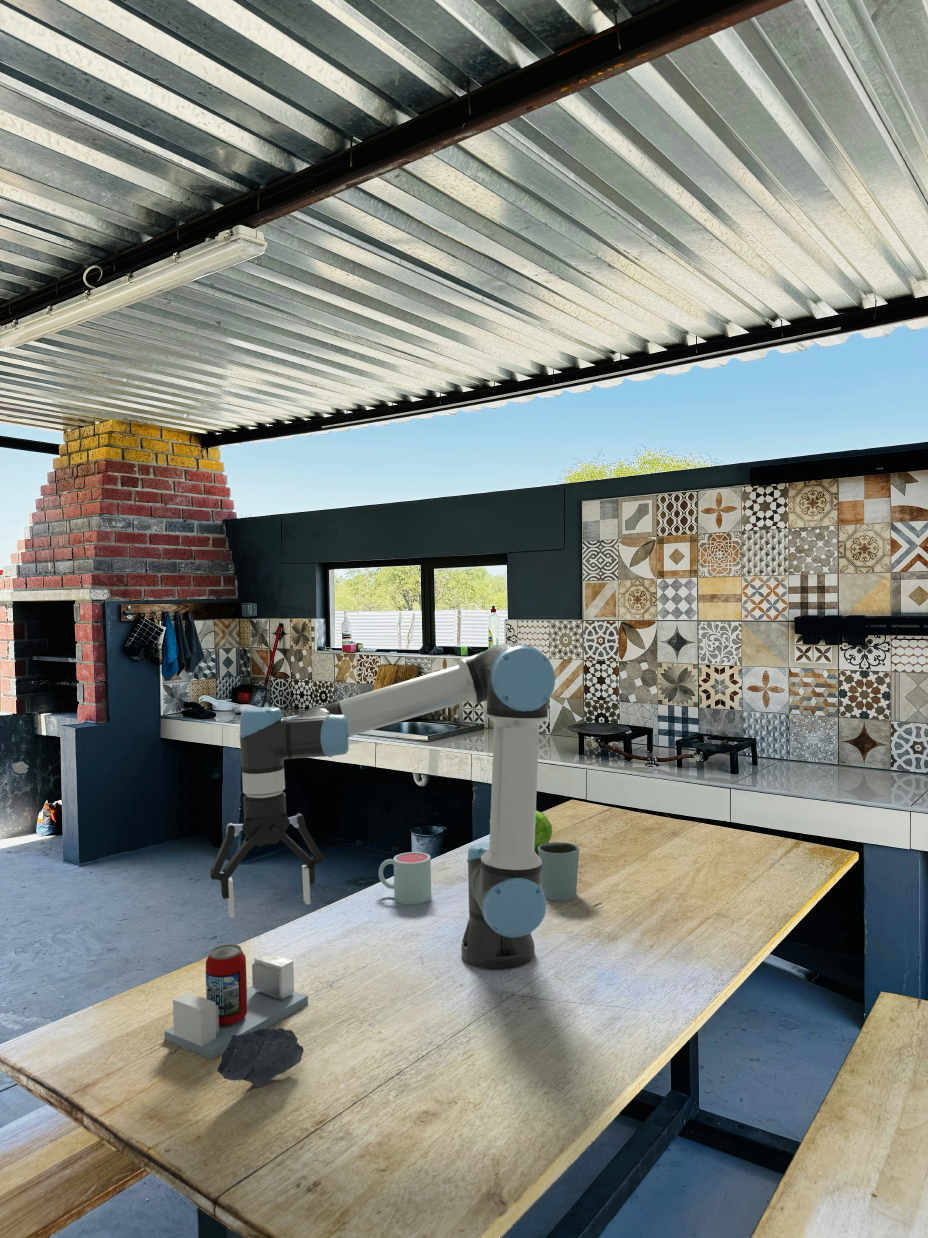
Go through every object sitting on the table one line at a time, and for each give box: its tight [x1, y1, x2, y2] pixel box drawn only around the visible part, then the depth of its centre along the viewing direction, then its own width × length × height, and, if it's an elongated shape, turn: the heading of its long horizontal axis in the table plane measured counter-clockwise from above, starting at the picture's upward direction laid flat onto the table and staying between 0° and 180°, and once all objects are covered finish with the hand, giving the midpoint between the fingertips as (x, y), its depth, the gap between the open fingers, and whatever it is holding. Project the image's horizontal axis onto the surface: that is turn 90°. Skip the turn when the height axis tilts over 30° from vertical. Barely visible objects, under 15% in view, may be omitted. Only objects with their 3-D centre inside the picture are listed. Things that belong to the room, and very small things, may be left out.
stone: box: [216, 1027, 305, 1088], centre depth 127 cm, size 14×6×10 cm, turn 150°
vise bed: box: [163, 985, 309, 1060], centre depth 148 cm, size 12×22×8 cm, turn 147°
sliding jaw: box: [251, 952, 295, 1000], centre depth 154 cm, size 7×4×6 cm, turn 57°
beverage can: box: [205, 943, 248, 1026], centre depth 145 cm, size 7×7×12 cm
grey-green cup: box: [537, 841, 580, 903], centre depth 208 cm, size 10×10×12 cm
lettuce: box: [534, 809, 553, 853], centre depth 244 cm, size 15×20×14 cm
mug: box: [378, 851, 432, 905], centre depth 209 cm, size 14×9×10 cm
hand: (269, 908), depth 153 cm, fingers open, 13 cm apart
